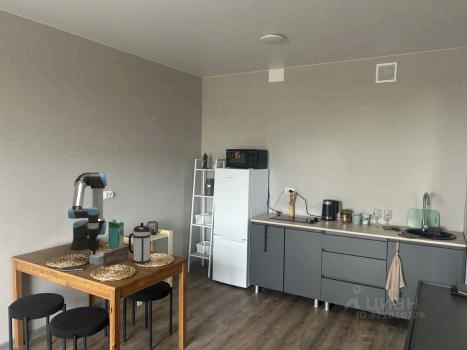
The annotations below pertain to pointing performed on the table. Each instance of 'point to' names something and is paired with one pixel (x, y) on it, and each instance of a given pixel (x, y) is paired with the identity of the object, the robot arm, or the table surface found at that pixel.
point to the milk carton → (115, 234)
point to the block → (96, 259)
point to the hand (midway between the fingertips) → (93, 259)
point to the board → (115, 255)
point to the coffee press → (140, 243)
